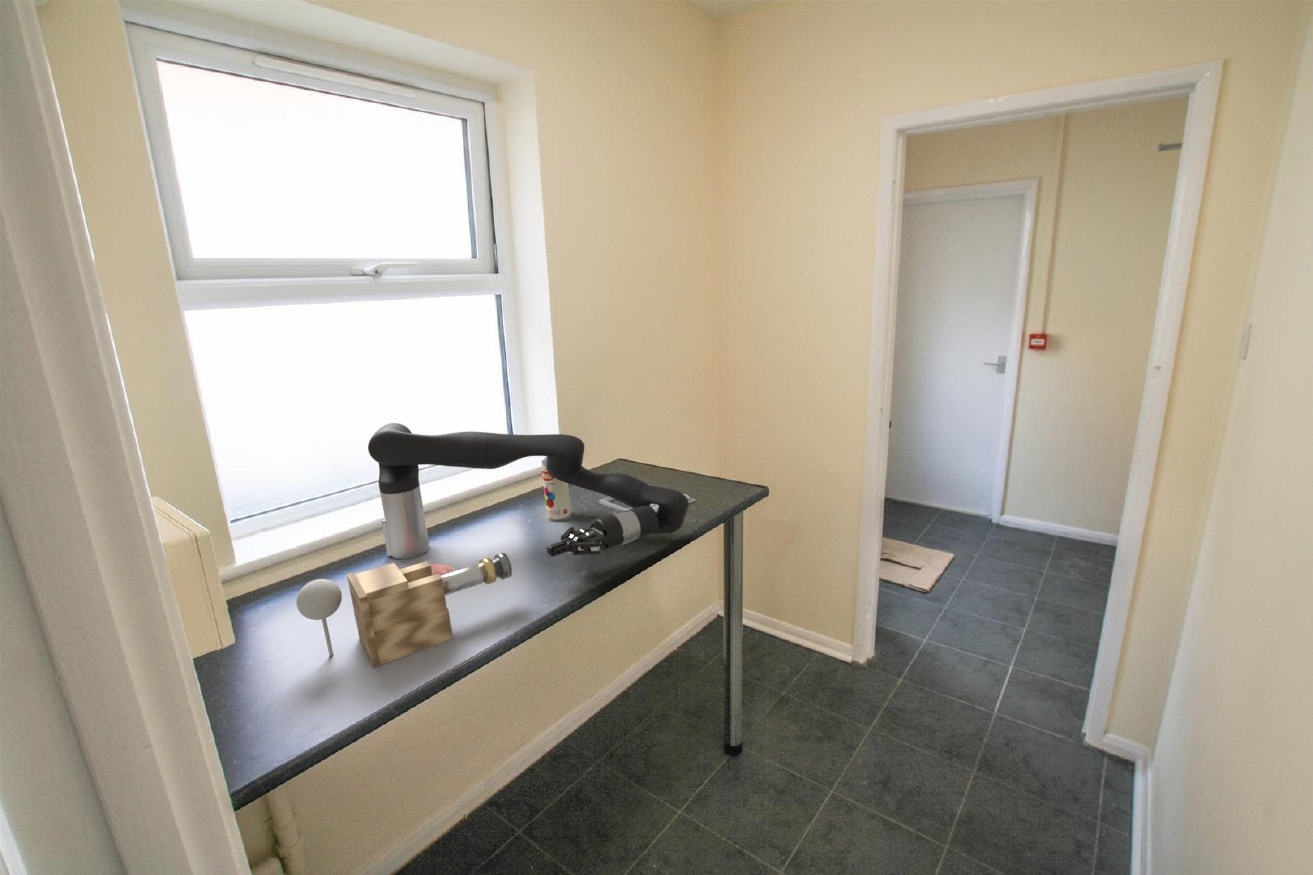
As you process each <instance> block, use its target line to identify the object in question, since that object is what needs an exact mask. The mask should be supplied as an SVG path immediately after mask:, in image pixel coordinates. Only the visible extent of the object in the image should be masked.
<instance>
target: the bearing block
mask: <svg viewBox="0 0 1313 875" xmlns="http://www.w3.org/2000/svg"><path fill="white" fill-rule="evenodd" d="M346 578H347V582H348V588H349V592H350V593H349V594H350V597H351V598H350V599H351V603H352V604H351V605H352V607H353V614H354V617H355V623H356V629H357V634H358V638H359V641H360V643H361V645H362V647H363V650H364V649H365V650H364V652H365V654H366V656H367V658H368V660H369V662H370V664H371V666H373V667H372V668H376V666H377V667H379V666H382V665H385V664H387V663H389V662H392V661H395V660H398V659H401V658H403V657H406V656H408V655H411V654H414V653H417V652H419V651H421V650H424V649H428V648H429V647H433V646H435V645H438V644H441V643H444V642H446V641H449V640H451V639H453V638H454V636H453V629H452V623H451V622H452V621H451V616H450V610H449V607H448V606H447V601H446V595H445V593H444V587H443V580H442V577H441V576H440V575H439V574H435V575H432V570H431V565H430V563H429V562H428V560H426V561H423V562H419V563H417V564H413V565H410V566H409V565H408V566H405V567H402V568H399V567H398V566H397V565H396V563H394V562H393V563H389V564H386V565H382V566H378V567H375V568H373V569H369V570H365V571H362V572H359V573H355V572H354V571H353V572H350V573H347V574H346Z"/></svg>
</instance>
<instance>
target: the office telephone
mask: <svg viewBox="0 0 1313 875" xmlns="http://www.w3.org/2000/svg"><path fill="white" fill-rule="evenodd" d="M648 484H649V485H652V484H650V483H648ZM652 486H654V484H653V485H652ZM683 494H684V495H685V496H686V498H687V499H688V502H689V505H690V504H692V503H696V502H697V500H696V498H694V497H693V498H692V497H690V495H688V494H686V493H683ZM614 501H616V499H614V498H612V497H609V496H607V497H604V498H600V499H599V500H598V503H599V504H600V505H601V504H602V505H604V506H606V507H609V508H611V507H612V508H611V509H614V510H617V511H618V512H621V511H627V510H630V509H633V508H632V507H630V506H629V507H627V508H626V507H624V506H621V505H618V504H615V503H612V502H614ZM650 507H652V508H653V509H654V510H655V512H657V511H658V507H659V505H657V504H651V505H650Z"/></svg>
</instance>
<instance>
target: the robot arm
mask: <svg viewBox="0 0 1313 875" xmlns="http://www.w3.org/2000/svg"><path fill="white" fill-rule="evenodd" d="M367 449H368V450H367V451H368V453H369V456H370V457H371V459H372V460H374V461H375V462H377V463H378V467H379V468H378V469H379V470H378V472H379V473H378V475H379V476H378V488H379V489H378V490H379V492H380V498H381V504H382V509H383V516H384V519H383V520H381V526H382V531H383V536H384V537H383V538H384V544H385V548H386V554H387V557H391V558H393V559H397V560H407V559H412V558H416V557H418V556H421V555H423V554H425V553H427V552H428V551H429V549H430V544H429V543H430V541H429V536H428V530H427V523H426V518H425V517H426V516H425V510H424V506H423V499H422V493H421V486H420V480H419V478H420V477H419V476H420V475H419V473H420V472H419V469H420V468H419V465H423V466H424V465H431V466H432V465H433V466H442V467H452V468H454V467H455V468H467V469H478V470H479V469H481V470H485V469H486V470H495V469H499V468H502V467H505V466H507V465H509V464H512V463H514V462H516V461H518V460H521V459H524V458H527V457H528V458H529V457H546V456H547V462H546V468H547V472H548V473H549V474H550V475H551V476H552V477H553V478H555V479H557V480H560V481H562V482H565V483H568V485H572V486H575V487H578V488H582V489H585V490H588V491H590V492H591V491H592V492H594V493H597V494H602V495H604V496H607V497H612V498H614V499H616V500H617V501H618V502H621V503H623V504H625V505H626V506H628V507H629V508H630V507H632V508H633V509H630V510H627V511H617V512H614V513H611V514H608V515H605V516H601V517H598V518H595V519H594V520H593V521H592V523H591V525H590V527H584V528H581V529H579V530H575V527H574V526H571V527H568V529H566V531H564V533H563V534H562V535H560V541H558V542H555V543H552V544H548V545H547V547H546V551H547V555H548V556H550V557H552V558H553V557H556V556H559V555H563V554H571V553H572V555H573V556H581V555H584V556H585V555H598V554H600V553H601V551H603V552H604V551H608V550H611V549H614V548H616V547H620V546H623V545H625V544H629V543H631V542H633V541H635V540H637V539H639V538H643V537H646V536H648V535H651V534H652V535H658V534H661V535H662V534H672V533H676V532H677V531H678V530H680V529H681V528H682V526H683V524H684V520H685V519H686V515H687V512H688V509H689V505H690V504H689V502H688V499H687V498H686V496H685V495H684V494H685V493H683V492H681V491H679V490H677V489H675V488H674V489H673V488H667V487H662V486H658V485H653V486H652V484H650V483H647V482H645V481H642V480H641V479H638V478H637V477H634V476H632V475H629V474H625V473H620V472H619V473H617V472H616V473H596V472H594V471H591V470H589V469H587V468H585V467H584V466H583V461H584V453H585V444H584V441H583V440H582V439H581V438H579V437H578V436H575V435H572V434H561V433H560V434H559V433H556V434H555V433H554V434H553V433H552V434H551V433H550V434H548V433H547V434H512V433H511V434H510V433H509V434H508V433H497V432H488V431H457V432H451V433H445V434H444V433H442V434H434V435H433V434H432V435H431V434H429V435H427V434H417V433H413V432H412V431H411V429H410V428H408V427H407V426H406V425H404V424H402V423H398V422H390V423H386V424H385V425H383V426H381V427H380V428H378V429H377V431H376V432H375V433H374V434H373V435H372V436H371V438H370V439H369V441H368V445H367ZM649 484H650V485H649ZM616 500H615V501H616ZM651 504H657V505H659V507H658V511H657V512H655V510H654V509H653V508H652V507H650V505H651ZM600 550H601V551H600Z"/></svg>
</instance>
